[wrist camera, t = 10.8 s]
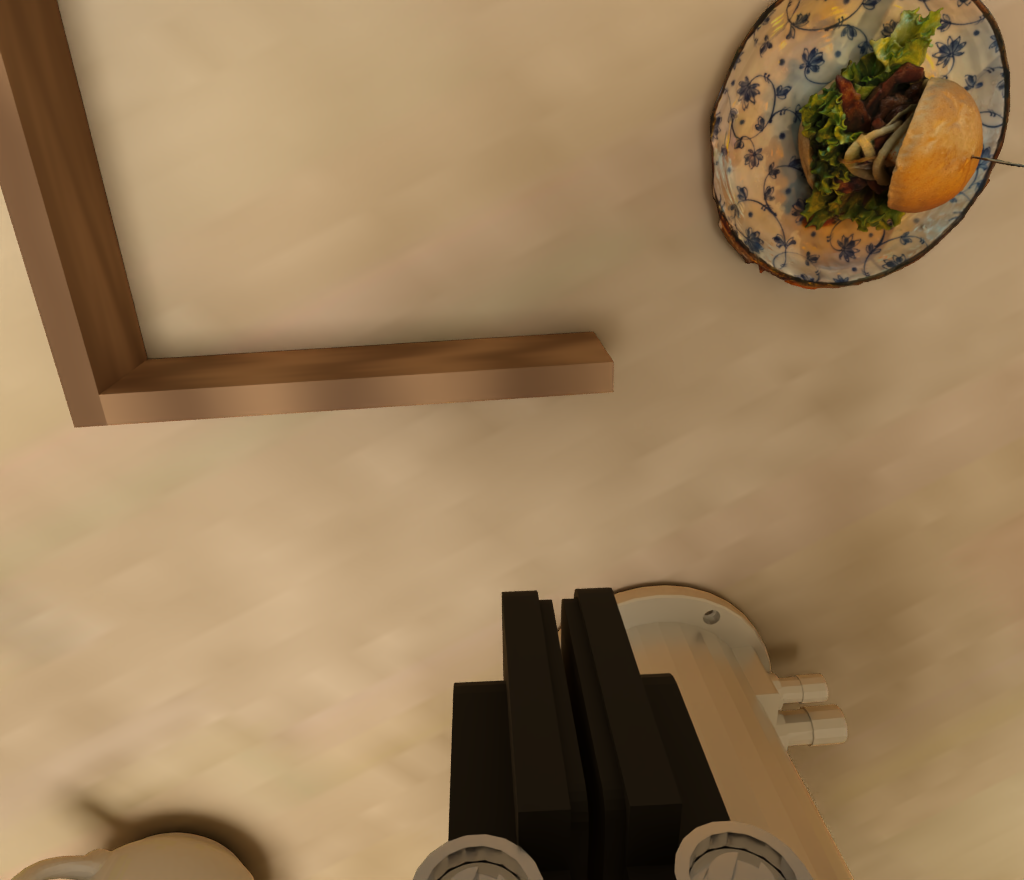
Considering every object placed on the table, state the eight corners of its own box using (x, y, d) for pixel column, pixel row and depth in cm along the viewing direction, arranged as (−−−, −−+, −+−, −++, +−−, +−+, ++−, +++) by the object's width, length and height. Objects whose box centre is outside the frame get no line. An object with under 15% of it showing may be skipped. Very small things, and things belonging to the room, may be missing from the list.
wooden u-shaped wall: (592, -127, 25) (619, -178, 21) (593, 358, 32) (613, 391, 28) (-8, -106, 24) (-104, -154, 20) (125, 387, 31) (74, 427, 27)
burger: (851, -117, 26) (990, -205, 19) (1042, 105, 29) (1219, 98, 22) (632, 167, 29) (684, 178, 22) (826, 337, 33) (924, 392, 26)
